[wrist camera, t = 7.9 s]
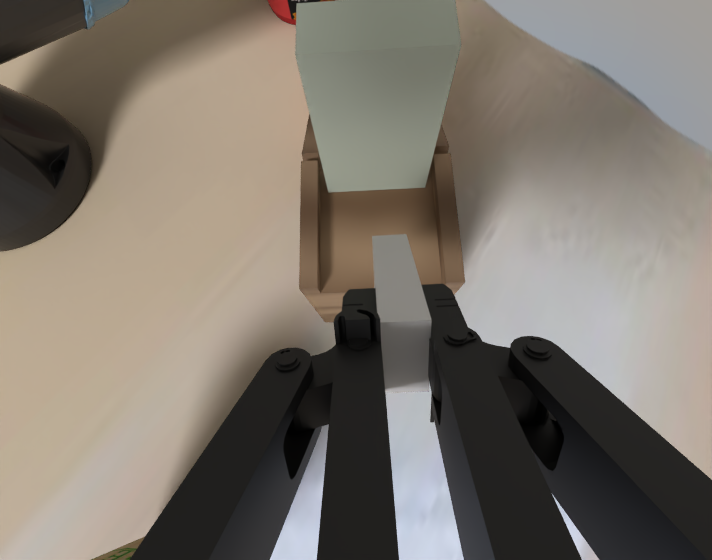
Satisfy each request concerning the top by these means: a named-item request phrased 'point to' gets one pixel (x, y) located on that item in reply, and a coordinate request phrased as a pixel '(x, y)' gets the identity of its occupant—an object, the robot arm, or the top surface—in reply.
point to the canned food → (288, 8)
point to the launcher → (374, 230)
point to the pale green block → (376, 86)
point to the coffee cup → (121, 552)
